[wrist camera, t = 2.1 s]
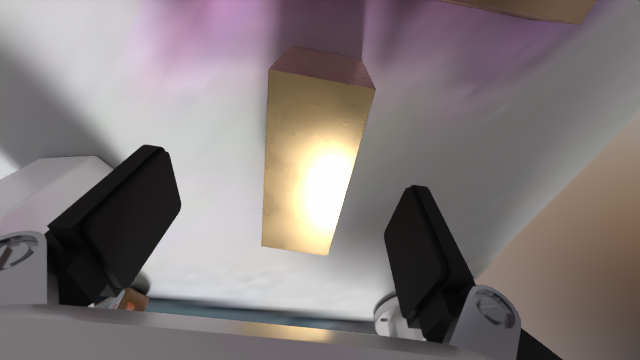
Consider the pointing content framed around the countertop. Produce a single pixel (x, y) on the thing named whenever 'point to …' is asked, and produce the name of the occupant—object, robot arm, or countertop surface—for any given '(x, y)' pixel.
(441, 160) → the countertop surface
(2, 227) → the jar
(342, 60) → the bar
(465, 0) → the door edge strip
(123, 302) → the tin
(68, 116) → the countertop surface
